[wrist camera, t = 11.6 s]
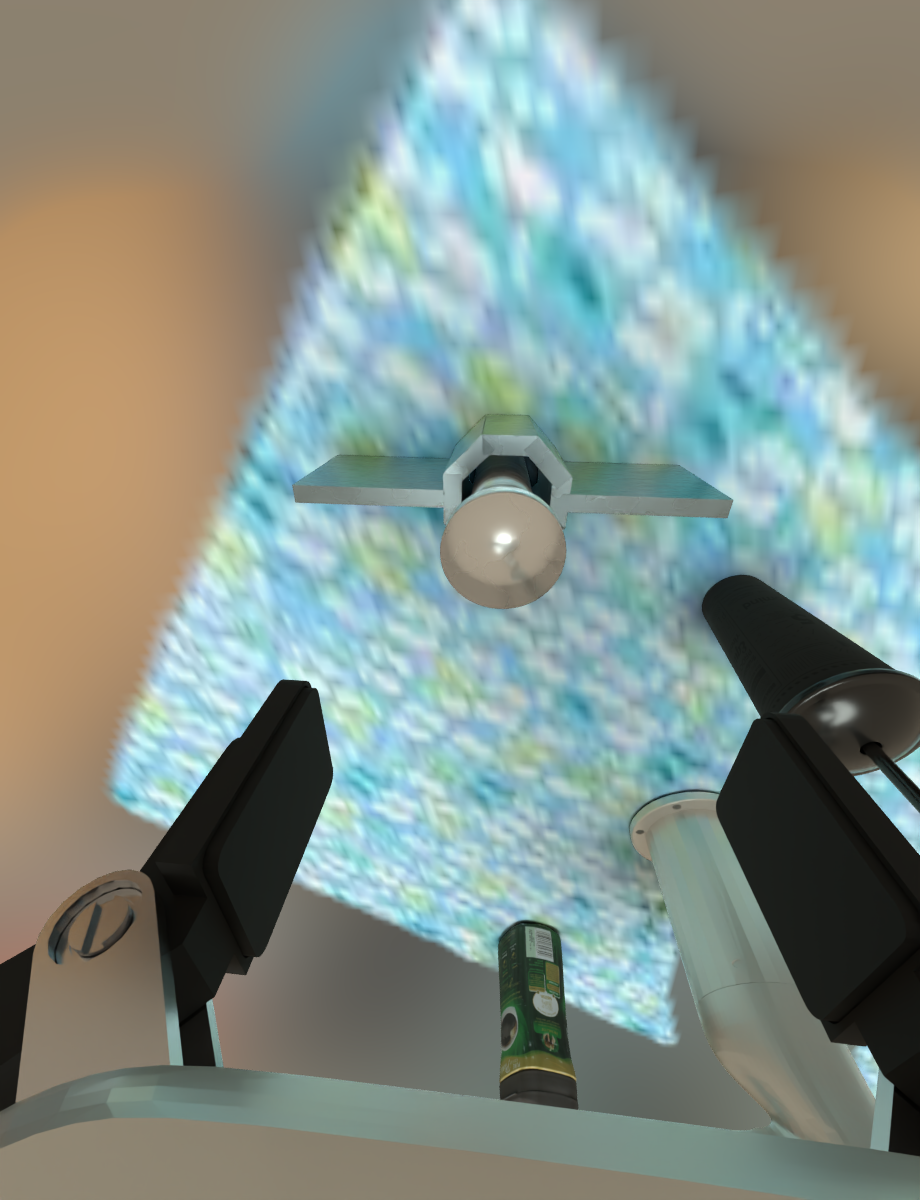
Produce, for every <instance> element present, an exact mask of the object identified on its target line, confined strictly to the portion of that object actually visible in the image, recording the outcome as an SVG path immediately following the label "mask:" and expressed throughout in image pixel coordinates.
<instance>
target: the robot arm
mask: <svg viewBox="0 0 920 1200" xmlns="http://www.w3.org/2000/svg"><path fill="white" fill-rule="evenodd" d="M332 779H333V767H332V762H331V756H330V751H329V746H328V741H327V735H326V730H325V725H324V719H323V714H322V709H321V704H320V698H319V693H318V690H317V689H316V688H311V685H310V683H309V682H308V681H298V680H281V681H279V683H278V684H277V685H276V686H275V688H274V689H273V691H272V692H271V694H270V695H269V697H268V698H267V700H266V701H265V702H264V704H263V705H262V707H261V708H260V710H259V711H258V713H257V714H256V715H255V717H254V718H253V720H252V721H251V723H250V724H249V726H248V727H247V729H246V730H245V731H244V733H243V734H242V736H241V737H240V738H237V739H235V740H233V741H232V742H231V743H230V745H229V746H228V747H227V748H226V749H225V751H224V752H223V754H222V755H221V757H220V758H219V759H218V761H217V762H216V764H215V765H214V767H213V768H212V769H211V771H210V772H209V774H208V775H207V776H206V778H205V779H204V781H203V782H202V784H201V785H200V786H199V788H198V789H197V791H196V792H195V793H194V795H193V796H192V798H191V799H190V801H189V802H188V803H187V805H186V806H185V808H184V809H183V810H182V812H181V813H180V815H179V816H178V818H177V819H176V820H175V822H174V823H173V825H172V826H171V828H170V829H169V830H168V832H167V833H166V835H165V836H164V837H163V839H162V840H161V842H160V843H159V845H158V846H157V847H156V849H155V850H154V852H153V853H152V855H151V856H150V858H149V859H148V860H147V862H146V863H145V865H144V866H143V867H142V869H141V870H140V871H134V870H122V871H115V872H112V873H109V874H106V875H104V876H102V877H98V878H97V879H95V880H93V881H91V882H90V883H88V884H86V885H85V886H83V887H81V888H80V889H79V890H77V891H76V892H75V893H74V894H72V895H71V896H70V897H69V898H68V899H66V900H65V901H64V902H63V903H62V904H61V905H60V906H59V907H58V909H57V910H56V911H55V912H54V913H53V914H52V915H51V916H50V918H49V919H48V921H47V922H46V924H45V926H44V927H43V929H42V931H41V932H40V934H39V936H38V939H37V942H36V944H35V945H33V946H32V947H30V948H28V949H26V950H25V951H23V952H21V953H19V954H18V955H16V956H14V957H13V958H11V959H9V960H7V961H5V962H4V963H2V964H0V1200H920V855H919V854H918V853H917V852H916V850H915V849H914V848H913V847H912V846H911V844H910V843H909V842H908V841H907V840H906V838H905V837H904V836H903V835H902V834H901V832H900V831H899V830H898V829H897V828H896V827H895V825H894V824H893V823H892V822H891V821H890V819H889V818H888V817H887V816H886V815H885V813H884V812H883V811H882V810H881V809H880V807H879V806H878V805H877V804H876V803H875V801H874V800H873V799H872V798H871V797H870V795H869V794H868V793H867V792H866V791H865V790H864V788H863V787H862V786H861V785H860V784H859V782H858V781H857V780H856V779H855V778H854V776H853V775H852V774H851V773H850V772H849V770H848V769H847V768H846V767H845V766H844V764H843V763H842V762H841V761H840V760H839V758H838V757H837V756H836V755H835V754H834V752H833V751H832V750H831V749H830V748H829V747H828V745H827V744H826V743H825V742H824V741H823V739H822V738H821V737H820V736H819V735H818V733H817V732H816V731H815V730H814V729H813V727H812V726H811V725H810V724H809V723H808V721H807V720H806V719H805V718H804V717H802V716H801V715H798V714H789V713H774V712H766V713H765V714H763V715H762V717H761V718H760V719H756V720H754V722H753V723H752V725H751V728H750V730H749V732H748V734H747V736H746V738H745V740H744V743H743V745H742V747H741V749H740V751H739V753H738V756H737V758H736V760H735V762H734V764H733V766H732V768H731V771H730V773H729V775H728V777H727V779H726V781H725V784H724V786H723V788H722V790H721V792H720V794H715V793H710V792H683V793H677V794H672V795H669V796H665V797H662V798H660V799H658V800H655V801H653V802H651V803H650V804H648V805H646V806H645V807H644V808H642V809H641V810H640V811H639V812H638V813H637V814H636V816H635V817H634V818H633V820H632V822H631V825H630V836H631V840H632V843H633V846H634V848H635V849H636V850H637V852H638V853H639V854H640V855H642V856H643V857H644V858H646V859H648V860H650V861H652V862H653V865H654V868H655V872H656V875H657V878H658V882H659V885H660V888H661V892H662V895H663V898H664V902H665V905H666V908H667V912H668V915H669V918H670V922H671V925H672V928H673V932H674V935H675V938H676V942H677V945H678V948H679V952H680V955H681V958H682V962H683V965H684V968H685V971H686V975H687V978H688V982H689V985H690V988H691V991H692V995H693V998H694V1002H695V1005H696V1008H697V1012H698V1015H699V1018H700V1022H701V1025H702V1028H703V1031H704V1033H705V1036H706V1039H707V1041H708V1043H709V1045H710V1047H711V1048H712V1050H713V1052H714V1054H715V1055H716V1057H717V1059H718V1060H719V1061H720V1063H721V1064H722V1065H723V1067H724V1068H725V1069H726V1070H727V1072H728V1073H729V1074H730V1075H731V1076H732V1077H733V1078H734V1080H735V1081H736V1082H737V1083H738V1084H739V1085H740V1086H741V1087H742V1088H743V1089H744V1090H745V1091H746V1092H747V1093H748V1094H749V1095H750V1096H751V1097H752V1098H753V1099H754V1100H755V1101H756V1102H757V1103H758V1104H760V1106H761V1107H762V1108H763V1109H764V1110H765V1111H766V1112H767V1113H768V1114H769V1116H770V1118H771V1123H770V1125H769V1126H766V1127H762V1128H752V1130H746V1131H745V1130H744V1131H735V1130H727V1129H720V1128H712V1127H705V1126H697V1125H690V1124H682V1123H675V1122H667V1121H659V1120H652V1119H644V1118H636V1117H629V1116H621V1115H613V1114H605V1113H598V1112H590V1111H583V1110H575V1109H567V1108H559V1107H552V1106H544V1105H536V1104H528V1103H521V1102H513V1101H505V1100H497V1099H489V1098H481V1097H474V1096H465V1095H458V1094H450V1093H442V1092H433V1091H426V1090H418V1089H409V1088H401V1087H393V1086H385V1085H377V1084H368V1083H361V1082H353V1081H345V1080H337V1079H329V1078H321V1077H311V1076H302V1075H292V1074H282V1073H272V1072H263V1071H252V1070H243V1069H232V1068H224V1067H223V1061H222V1055H221V1049H220V1043H219V1037H218V1031H217V1025H216V1019H215V1013H214V1007H213V1001H212V998H214V997H215V995H216V993H217V990H218V988H219V986H220V984H221V982H222V979H223V977H224V975H225V973H231V974H239V975H246V974H247V972H248V969H249V967H250V964H251V962H252V960H253V957H259V956H261V954H262V953H263V952H264V950H265V949H266V946H267V944H268V942H269V939H270V937H271V934H272V932H273V929H274V927H275V924H276V922H277V919H278V917H279V914H280V912H281V909H282V907H283V904H284V902H285V899H286V897H287V894H288V892H289V889H290V887H291V884H292V882H293V879H294V877H295V874H296V872H297V869H298V867H299V864H300V862H301V859H302V857H303V854H304V852H305V849H306V847H307V844H308V842H309V839H310V837H311V834H312V832H313V829H314V827H315V824H316V822H317V819H318V817H319V814H320V812H321V809H322V807H323V804H324V802H325V799H326V797H327V794H328V792H329V789H330V786H331V783H332ZM846 1044H849V1045H857V1046H868V1048H869V1050H870V1051H871V1053H872V1055H873V1057H874V1059H875V1061H876V1063H877V1065H878V1067H879V1072H878V1082H877V1091H876V1100H875V1098H874V1096H873V1094H872V1092H871V1091H870V1089H869V1087H868V1085H867V1083H866V1081H865V1079H864V1077H863V1076H862V1074H861V1072H860V1070H859V1068H858V1066H857V1064H856V1062H855V1060H854V1059H853V1057H852V1055H851V1053H850V1051H849V1049H848V1047H847V1045H846Z"/></svg>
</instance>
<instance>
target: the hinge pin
mask: <svg viewBox="0 0 920 1200" xmlns="http://www.w3.org/2000/svg"><path fill="white" fill-rule="evenodd" d="M440 557H441V563H442V567H443V570H444V573H445V575H446V577H447V579H448V581H449V582H450V583H451V585H452V586H453V587H454V588H455V589H456V590H457V591H458V592H459V593H460V594H461V595H462V596H464V597H465V598H467V599H468V600H470V601H472V602H474V603H476V604H479V605H481V606H485V607H489V608H496V609H509V608H516V607H520V606H523V605H526V604H529V603H531V602H533V601H535V600H537V599H538V598H540V597H541V596H543V595H544V594H545V593H546V592H548V591H549V590H550V588H551V587H552V586H553V585H554V584H555V582H556V581H557V580H558V578H559V576H560V574H561V572H562V569H563V567H564V563H565V559H566V542H565V538H564V534H563V531H562V528H561V525H560V523H559V520H558V518H557V516H556V514H555V513H554V511H553V510H552V509H551V507H550V506H549V505H548V504H547V503H546V502H545V501H544V500H542V499H541V498H540V497H538V496H537V495H535V494H533V493H532V489H531V484H530V480H529V475H528V471H527V466H526V462H525V459H524V456H509V455H489V456H488V457H487V458H486V459H484V460H483V461H482V462H481V463H480V464H479V465H478V466H477V468H476V474H475V479H474V484H473V489H472V494H471V496H469V497H468V498H466V499H465V500H464V501H463V502H461V503H460V504H459V505H458V507H457V508H456V509H455V510H454V511H453V513H452V514H451V516H450V518H449V520H448V522H447V524H446V527H445V530H444V533H443V536H442V541H441V547H440Z"/></svg>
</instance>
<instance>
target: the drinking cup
mask: <svg viewBox="0 0 920 1200" xmlns="http://www.w3.org/2000/svg"><path fill="white" fill-rule="evenodd" d="M702 611H703V615H704V617H705V619H706V620H707V622H708V624H709V626H710V627H711V629H712V631H713V633H714V635H715V636H716V638H717V640H718V642H719V643H720V645H721V647H722V649H723V651H724V652H725V654H726V656H727V658H728V659H729V661H730V663H731V665H732V667H733V668H734V670H735V672H736V674H737V675H738V677H739V679H740V681H741V683H742V684H743V686H744V688H745V690H746V691H747V693H748V695H749V697H750V699H751V700H752V702H753V704H754V706H755V707H756V709H757V711H758V713H759V715H760V716H761V717H762V715H763V714H765V713H766V712H774V713H789V714H798V715H801V716H802V717H804V718H805V719H806V720H807V721H808V723H809V724H810V725H811V726H812V727H813V729H814V730H815V731H816V732H817V733H818V735H819V736H820V737H821V738H822V739H823V741H824V742H825V743H826V744H827V745H828V747H829V748H830V749H831V750H832V751H833V752H834V754H835V755H836V756H837V757H838V758H839V760H840V761H841V762H842V763H843V764H844V766H845V767H846V768H847V769H848V770H849V772H850V773H851V774H852V775H853V776H858V775H862V774H866V773H870V772H873V771H876V770H879V769H880V770H881V771H882V772H883V773H884V774H885V775H886V776H887V778H888V779H889V780H890V781H891V782H892V783H893V784H894V785H895V786H896V788H897V789H898V790H899V791H900V792H901V793H902V794H903V795H904V796H905V797H906V799H907V800H908V801H909V802H910V803H911V804H912V805H913V806H914V807H915V809H916V810H917V811H918V812H919V813H920V789H919V788H918V787H917V785H916V784H915V783H914V782H913V781H912V780H911V779H910V778H909V777H908V776H907V775H906V774H905V773H904V772H903V771H902V770H901V769H900V768H899V767H898V766H897V765H896V764H895V763H896V762H898V761H900V760H901V759H903V758H905V757H906V756H908V755H909V754H911V753H912V752H914V751H915V750H916V749H917V748H919V747H920V679H918V678H917V677H915V676H912V675H910V674H907V673H904V672H901V671H897V670H895V669H893V668H892V667H890V666H889V665H887V664H886V663H884V662H883V661H881V660H880V659H878V658H877V657H875V656H874V655H872V654H871V653H869V652H868V651H866V650H865V649H863V648H862V647H860V646H859V645H857V644H856V643H854V642H853V641H851V640H850V639H848V638H847V637H845V636H844V635H842V634H841V633H839V632H838V631H836V630H835V629H833V628H831V627H830V626H828V625H827V624H825V623H824V622H822V621H821V620H819V619H818V618H816V617H815V616H813V615H812V614H810V613H809V612H807V611H806V610H804V609H803V608H801V607H800V606H798V605H797V604H795V603H794V602H792V601H791V600H789V599H788V598H786V597H785V596H783V595H782V594H780V593H779V592H777V591H776V590H774V589H773V588H771V587H770V586H768V585H767V584H765V583H764V582H762V581H761V580H759V579H757V578H755V577H752V576H747V575H738V576H732V577H729V578H726V579H724V580H722V581H720V582H718V583H717V584H716V585H714V586H713V587H712V588H711V589H710V590H709V591H708V593H707V594H706V596H705V598H704V600H703V604H702Z"/></svg>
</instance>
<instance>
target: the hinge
mask: <svg viewBox="0 0 920 1200" xmlns="http://www.w3.org/2000/svg"><path fill="white" fill-rule="evenodd" d="M489 455H509V456H528V457H529V458H530V459H531V460H532V461H533V462H534V463H535V465H536V466H537V467H538V468H539V471H538V481H537V483H536V484H535V485H534V486H533V487H532V488H531V489H532V493H533V494H535V495H537V496H538V497H540V498H541V499H542V500H544V501H545V502H546V503H547V504H548V505H549V506H550V507H551V509H552V510H553V511H554V513H555V514H556V516H557V518H558V520H559V523H560V525H561V528H562V530H564V529H565V527H566V520H567V513H568V512H573V513H601V514H628V515H656V516H683V517H711V518H727V517H728V514H729V511H730V508H731V505H732V502H733V499H731V498H729V497H728V496H726V495H725V494H723V493H722V492H720V491H719V490H717V489H715V488H714V487H712V486H711V485H709V484H708V483H706V482H705V481H703V480H701V479H700V478H698V477H697V476H695V475H694V474H692V473H691V472H689V471H688V470H686V469H684V468H683V467H681V466H680V465H657V464H623V463H589V462H563V460H562V458H561V457H560V455H559V453H558V451H557V450H556V448H555V446H554V445H553V444H552V443H551V442H550V440H549V439H548V438H547V437H546V436H545V434H544V433H543V432H542V431H541V430H540V428H539V427H538V426H537V425H536V424H535V422H534V421H533V420H532V419H531V418H530V416H528V415H489V414H486V415H485V416H484V417H483V418H482V419H481V420H480V421H479V422H478V423H477V424H476V425H475V426H474V427H473V428H472V429H471V430H470V431H469V432H468V433H467V434H466V435H465V436H464V437H463V438H462V439H461V440H460V441H459V442H458V443H457V444H456V446H455V448H454V451H453V453H452V455H451V457H450V458H419V457H385V456H351V455H337V456H336V457H334V458H333V459H331V460H330V461H328V462H327V463H325V464H323V465H322V466H320V467H319V468H317V469H316V470H314V471H313V472H311V473H310V474H308V475H307V476H305V477H304V478H302V479H301V480H299V481H298V482H296V483H295V484H293V485H292V486H293V491H294V497H295V502H298V503H325V504H353V505H380V506H408V507H436V508H444V524H445V525H446V524H447V522H448V520H449V518H450V516H451V514H452V513H453V511H454V510H455V509H456V508H457V507H458V505H459V504H460V503H461V502H463V501H464V500H465V499H466V498H468V497H469V496H471V494H472V489H473V484H472V483H471V482H470V481H469V474H470V473H471V472H472V471H473V470H474V469H475V468H476V467H477V466H478V465H479V464H480V463H481V462H482V461H483V460H484V459H486V458H487V457H488V456H489Z"/></svg>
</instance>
